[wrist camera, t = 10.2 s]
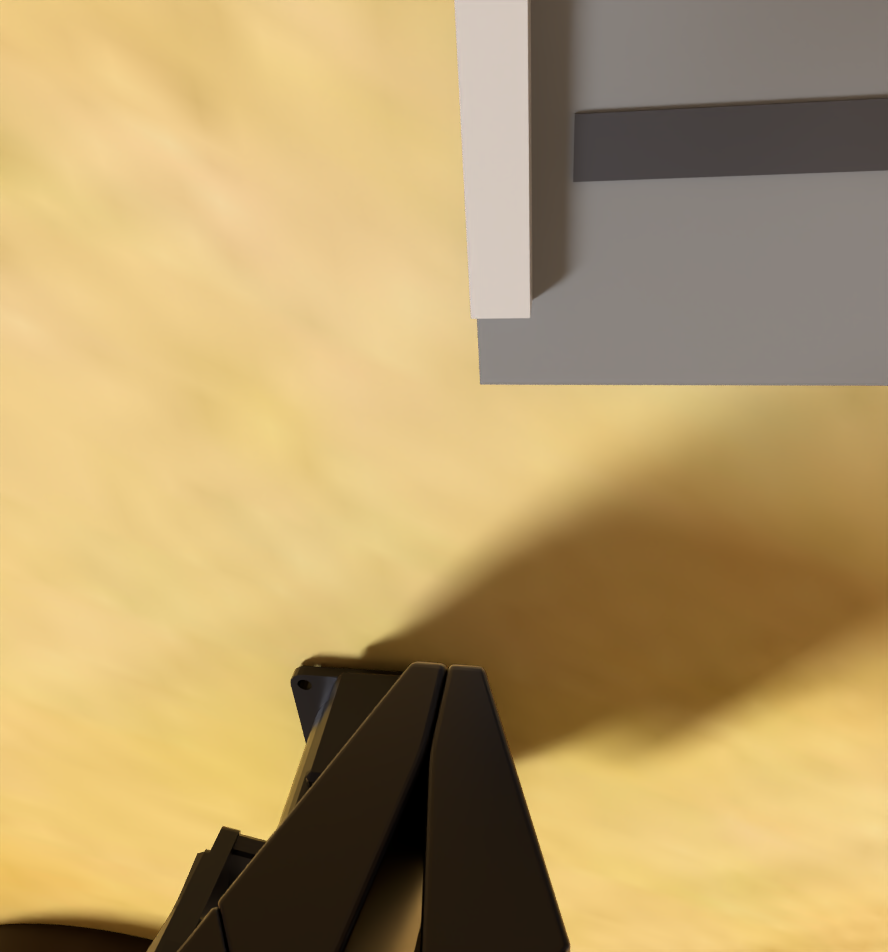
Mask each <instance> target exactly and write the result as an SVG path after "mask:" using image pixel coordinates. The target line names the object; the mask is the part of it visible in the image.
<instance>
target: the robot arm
mask: <svg viewBox="0 0 888 952" xmlns="http://www.w3.org/2000/svg"><path fill="white" fill-rule="evenodd" d="M291 687H292V691H293V695H294V699H295V703H296V706H297V710H298V714H299V718H300V722H301V726H302V730H303V734H304V737H305V741H306V746H305V749H304V752H303V755H302V758H301V761H300V764H299V767H298V770H297V773H296V775H295V778H294V781H293V784H292V787H291V790H290V793H289V796H288V799H287V802H286V805H285V807H284V810H283V813H282V816H281V819H280V822H279V825H278V828H277V829H276V831H275V832H274V833H273V834H272V836H271V837H270V838H269V839H268V840H267V841H265V840H261V839H257V838H254V837H250V836H246V835H242V834H240V830H236V829H232V828H229V827H225V826H223V827H222V828H221V830H220V832H219V834H218V836H217V838H216V840H215V843H214V845H213V847H212V849H211V850H207V849H206V850H205V852H201V853H198V854H197V856H196V858H195V861H194V863H193V865H192V868H191V870H190V872H189V875H188V877H187V879H186V882H185V884H184V887H183V889H182V891H181V893H180V896H179V898H178V900H177V902H176V904H175V906H174V908H173V910H172V912H171V913H170V915H169V917H168V919H167V920H166V922H165V923H164V925H163V926H162V928H161V929H160V931H159V933H158V934H157V936H156V937H155V939H154V940H153V942H152V944H151V945H150V947H149V948H148V950H147V951H146V952H570V942H569V939H568V936H567V932H566V929H565V926H564V923H563V920H562V916H561V913H560V910H559V907H558V903H557V900H556V897H555V894H554V891H553V887H552V884H551V881H550V878H549V874H548V871H547V868H546V865H545V861H544V858H543V855H542V852H541V849H540V845H539V842H538V839H537V836H536V832H535V829H534V826H533V823H532V820H531V816H530V813H529V810H528V807H527V803H526V800H525V797H524V794H523V790H522V787H521V784H520V781H519V778H518V774H517V771H516V768H515V765H514V761H513V758H512V755H511V752H510V749H509V745H508V742H507V739H506V736H505V732H504V729H503V726H502V723H501V720H500V716H499V713H498V710H497V707H496V703H495V700H494V697H493V694H492V690H491V687H490V684H489V681H488V678H487V674H486V672H485V670H484V669H483V668H482V667H480V666H471V665H458V664H454V665H451V666H450V667H449V668H447V666H446V665H445V664H442V663H431V662H414V663H412V664H410V665H409V667H408V668H407V669H406V670H405V671H404V672H394V671H378V670H362V669H346V668H330V667H314V666H300V667H298V668H296V670H295V671H294V673H293V676H292V678H291Z"/></svg>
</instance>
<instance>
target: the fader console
mask: <svg viewBox="0 0 888 952" xmlns="http://www.w3.org/2000/svg"><path fill="white" fill-rule="evenodd" d="M454 1H455V20H456V39H457V58H458V78H459V97H460V116H461V135H462V155H463V174H464V193H465V212H466V231H467V251H468V270H469V289H470V308H471V319H477V327H478V348H479V369H480V384H516V385H866V386H888V0H454Z"/></svg>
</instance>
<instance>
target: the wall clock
mask: <svg viewBox="0 0 888 952" xmlns="http://www.w3.org/2000/svg"><path fill="white" fill-rule="evenodd" d="M152 942H153V940H149V939H145V938H141V937H136V936H131V935H127V934H122V933H116V932H111V931H105V930H99V929H91V928H84V927H76V926H66V925H52V924H5V925H0V952H146V951H147V950H148V948H149V947H150V945H151V944H152Z"/></svg>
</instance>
